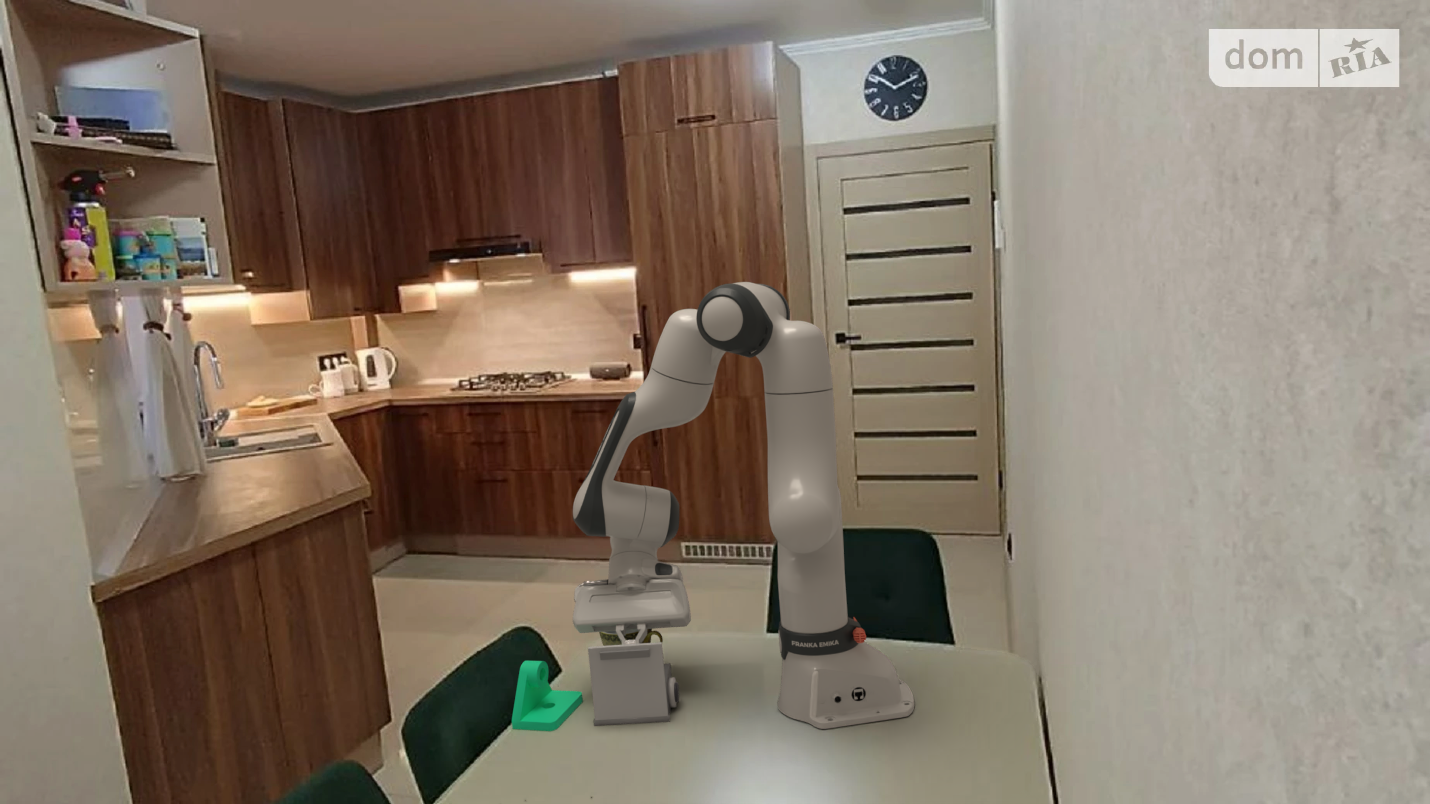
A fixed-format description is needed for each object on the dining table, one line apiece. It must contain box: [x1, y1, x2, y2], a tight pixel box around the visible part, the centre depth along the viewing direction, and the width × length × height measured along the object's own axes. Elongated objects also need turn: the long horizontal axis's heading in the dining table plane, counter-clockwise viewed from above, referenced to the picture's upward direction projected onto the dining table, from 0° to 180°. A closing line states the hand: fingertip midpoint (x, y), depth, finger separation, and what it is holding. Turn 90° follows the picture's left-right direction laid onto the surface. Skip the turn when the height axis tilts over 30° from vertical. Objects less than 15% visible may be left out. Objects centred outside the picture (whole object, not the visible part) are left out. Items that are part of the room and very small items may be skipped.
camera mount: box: [511, 660, 584, 732], centre depth 156 cm, size 12×8×10 cm, turn 164°
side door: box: [587, 641, 671, 727], centre depth 150 cm, size 12×2×13 cm, turn 88°
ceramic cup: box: [598, 629, 664, 646], centre depth 171 cm, size 13×10×10 cm
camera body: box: [664, 662, 680, 715], centre depth 155 cm, size 13×8×7 cm, turn 88°
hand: (630, 652), depth 155 cm, fingers closed
